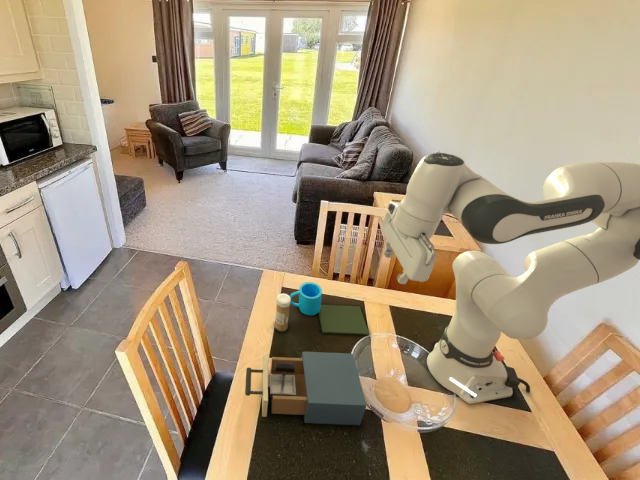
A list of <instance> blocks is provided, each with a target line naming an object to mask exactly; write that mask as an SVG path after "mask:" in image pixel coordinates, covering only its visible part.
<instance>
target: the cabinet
mask: <svg viewBox="0 0 640 480" xmlns="http://www.w3.org/2000/svg"><path fill="white" fill-rule="evenodd" d="M300 358H303V366H304V375H305V383H306V392H307V400H308V402H307V408H306V413H305V415H303V421H304V424H319V425H321V424H322V425H344V426H345V425H346V426H361V423H362V421H363V418H364V414H365V411H366V408H367V405H368V404H367V401H366V398H365V394H364V391H363V390H364V389H363V387H362V383H361V380H360V376H359V372H358V369H357V364H356V361H355V357H354V354H353V353H345V352H344V353H343V352H342V353H340V352H320V351H319V352H318V351H302V352H301V357H300Z"/></svg>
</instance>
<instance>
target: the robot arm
mask: <svg viewBox="0 0 640 480" xmlns="http://www.w3.org/2000/svg"><path fill="white" fill-rule="evenodd" d="M542 197H543V199H540V200H533V201H526V200H522V199H519V198H516V197H514V196H512V195H510V194H509V193H506V192H505V191H504V190H502V189H501V188H499V187H498V186H496V185H494V184H493V183H492V182H491V181H489V180H487V178H485V177H483V176H482V175H480V174H479V173H476V172H475V171H473V170H472V169H471V168H470V167H469V166H468V165H467V164H466V163H465V161H464V159H462V158H461V157H459V156H457V155H454V154H449V153H445V152H433V153H429V154H426V155H425V156H424V157H423V158H421V160H420V161H419V162H418V164H417V165H416V167H415V169H414V171H413V173H412V174H411V177H410V178H409V180H408V183H407V186H406V192H405V196H404V197H403V198H402V199H401V200H400V201H389V202H388V204H387V210H386V212H385V213H384V217H383V220H382V223H381V233H383V235H384V238H385V241H384V242H385V244H384V250H383V255H384V257H385V258H389V259H392V257H393V255H394V254H395V257H396V258H397V260H398V262H399V263H400V265H401V267H402V273H397V276H396V280H397V282H398V283H399V284H400V285H407V283H408V281H409V280H410V281H414V282H419V283H423V282H427V281H428V280H429V279H430V276H431V274H432V271H433V269H434V266H435V263H436V260H437V254H436V251H435V246H434V244H433V243H432V242H431V241H430V239H432V238H433V237H434V236H435V235H434V234H435V233H436V231H437V228H438V227H439V225H440V223H441V221H442V219H443V216H444V215H445V214H450V215H452V216H454V218H455V219H456V220H457V221H459V223H461V224H462V226H463V227H464V228H465V229H466V231H467V232H468V233H469V234H470V236H471V237H472V238H473V239H474V240H476V241H477V242H479V243H481V244H487V245H501V244H506V243H510V242H512V241H516V240H518V239H520V238H523V237H526V236H531V235H536V234H541V233H547V232H550V231H551V232H552V231H557V230H563V229H567V228H572V227H576V226H581V225H584V224H585V225H586V224H587V223H590V222H592V223H594V224H595V225H596V226H597V227H598V228H597V229H596V230H595V231H593V232H591V233H587V234H583V235H578V236H575V237H572V238H568V239H565V240H562V241H559V242H556V243H553V244H551V245H547V246H545V247H542V248H540V249H537V250H534V251H531V252H529V253H528V255H526V258H525V259H524V273H522V274H520V275H519V276H512V275H511V274H510V273H509V272H508V271H507V270H506V269H504V267H503V266H502V265H501V264H500V263H499V262H498V261H496V260H495V259H493V258H492V257H490V256H489V255H487V254H486V253H484V252H482V251H480V250H475V249H473V250H467V251H464V252H461V253H460V254H459V255H457V256H456V257H455V259H454V260H453V262H452V265H451V267H452V271H453V275H454V281H455V304H454V311H453V314H452V317H451V318H450V319H451V320H450V321H449V324H448V325H447V326H446V327H445V329H444V330H443V333H442V335H441V338H440V339H439V341H438V342H436V343H435V344H434V345H433V346H434V347H433V350H432V351H430V353H429V354H428V355H427V358H426V365H427V368H428V370H429V373H430V374H431V375H432V377H433V378H434V379H435V380H436V381H437V382H438V383H439V384H440V385H441V386H442V387H444V388H445V389H446V390H448V391H450V392H452V393H454V394H455V395H457V396H458V397H459V398H460V399H462V401H464V402H465V403H467V404H468V405H469V404H470V405H472V404H473V405H474V404H479V403H484V402H490V401H495V400H499V399H505V398H511V397H512V396H513V393H514V391H513V390H517V388H519V386H520V384H522V385H524V386H525V391H526V393H528V394H530V393H531V386H530V384H529V383H528V382H527V381H525V380H524V379H522V378H520V377H518V374H517V372H516V370H515V368H514V367H510V366H508V365H504V364H503V361H504V360H505V357H504V355H502V353H501V351H499V350H496V348H495V347H496V345H497V343H498V341H499V340H500V338H501V336H502V334H503V335H505V336H506V337H507V338H510V339H514V340H519V341H526V340H531V339H534V338H536V337H539V336H540V335H541V334H543V332H544V331H545V330H546V328H547V326H548V320H549V319H548V317H549V316H548V315H549V311H550V308H551V307H552V306H553V304H554V303H555V302H556V301H558V300H559V299H561V298H562V297H564V296H566V295H568V294H571V293H574V292H576V291H579V290H583V289H584V288H588V287H591V286H594V285H597V284H600V283H603V282H605V281H608V280H611V279H613V278H615V277H618V276H620V275H622V274H624V273H625V272H627V271H629V270H631V269H632V268H634V267H635V266H637V264H638V263H639V261H640V164H638V163H631V162H622V161H621V162H620V161H592V162H591V161H590V162H579V163H577V162H576V163H571V164H566V165H563V166H559V167H558V168H556V169H554V170H553V171H552V172H551V173H550V174H549V175H548V176H547V177H546V179H545V180H544V183H543V188H542Z"/></svg>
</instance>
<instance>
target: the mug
mask: <svg viewBox="0 0 640 480" xmlns="http://www.w3.org/2000/svg"><path fill="white" fill-rule="evenodd" d="M297 295H298V303H296V302H294V301H292V300H291V303H290V305H292V306H294V307H298V309H299V310H300V312H301V313H302V314H304V315H306V316H315V315H318V314H319V312H320V309H321V305H322V296H323V289H322V288H321V286H320V284H317V283H315V282H311V281H307V282H304V283H302V284H300V286H299V288H298V290H297V291H293V292H292V293H290V295H289V296H290V298H291V299H292V298H293V297H294V296H297Z"/></svg>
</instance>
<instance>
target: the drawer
mask: <svg viewBox="0 0 640 480" xmlns="http://www.w3.org/2000/svg"><path fill="white" fill-rule="evenodd" d="M268 355H269V354H268V353H263V356H262V369H256V368H255V369H254V368H252V367H246V371H245V388H244V389H245V390H244V391H245V392H244V395H245V396H247V397H249V396H251V395H259V396H261V398H262V399H261V417H264V418H267V417H268V405H269V367H268V365H269V364H268V363H269V361H268ZM275 363H287V364H294V368H295V369H294V372H286V375H295V386H296V396H273V400H270V402H271V405H270V406H271V408H270V409H271V414H273V415H274V414H276V415H294V416H295V415H297V416H304V415H305V413H306V408H307V402H308V400H307V392H306V383H305V375H304V366H303V358H301V357H279V356H272V357H271V364H270V374H278V375H282V372H275ZM252 373H258V374H261V386H262V387H261V390H252Z"/></svg>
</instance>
